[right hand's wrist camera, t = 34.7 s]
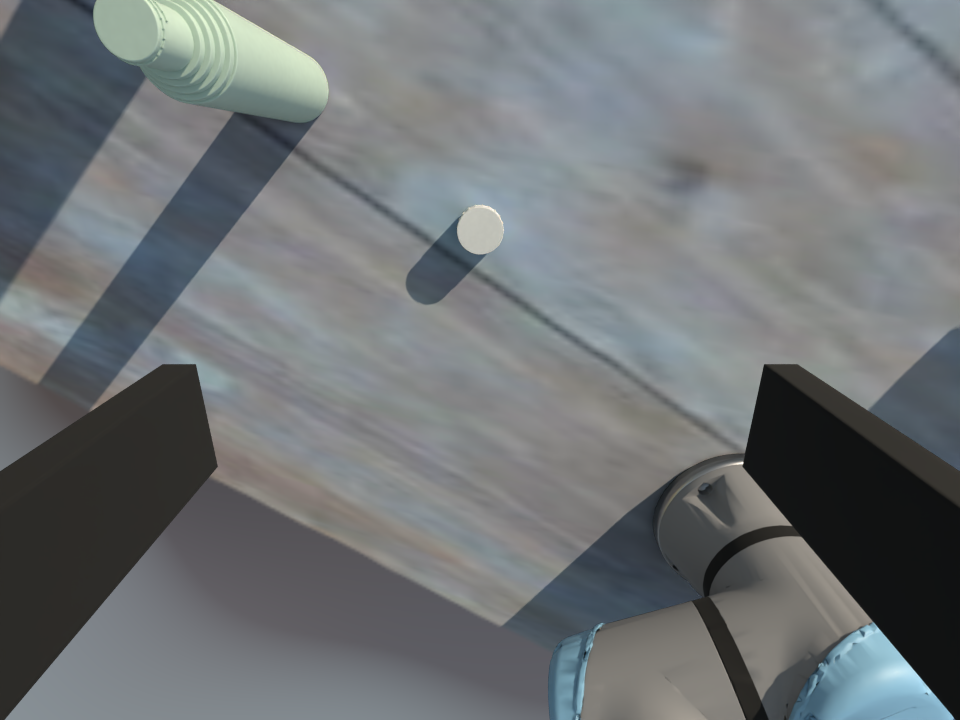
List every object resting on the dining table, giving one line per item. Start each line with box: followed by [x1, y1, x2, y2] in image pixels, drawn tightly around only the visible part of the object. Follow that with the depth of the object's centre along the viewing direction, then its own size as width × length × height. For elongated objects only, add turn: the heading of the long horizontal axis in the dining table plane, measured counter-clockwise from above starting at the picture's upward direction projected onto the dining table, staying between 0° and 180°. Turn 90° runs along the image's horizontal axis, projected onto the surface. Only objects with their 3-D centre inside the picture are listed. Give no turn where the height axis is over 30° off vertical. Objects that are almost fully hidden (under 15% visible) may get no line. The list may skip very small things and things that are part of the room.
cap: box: [457, 204, 504, 255], centre depth 43 cm, size 4×4×2 cm
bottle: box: [93, 0, 329, 123], centre depth 30 cm, size 5×5×21 cm
